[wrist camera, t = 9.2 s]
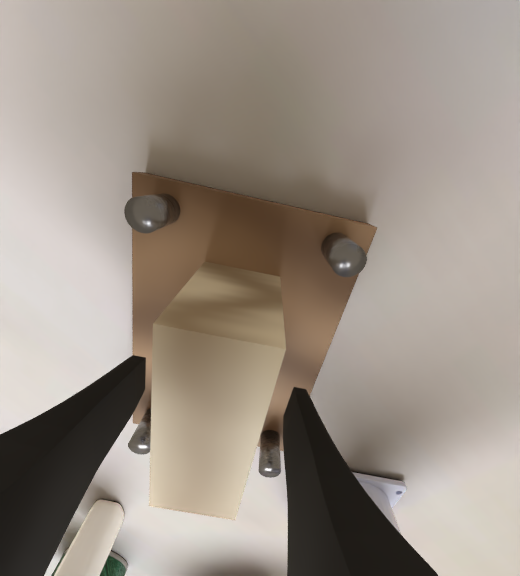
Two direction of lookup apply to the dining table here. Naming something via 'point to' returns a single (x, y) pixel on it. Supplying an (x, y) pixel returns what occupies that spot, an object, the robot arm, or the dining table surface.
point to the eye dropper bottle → (93, 541)
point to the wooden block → (212, 387)
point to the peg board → (249, 256)
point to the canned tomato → (108, 565)
